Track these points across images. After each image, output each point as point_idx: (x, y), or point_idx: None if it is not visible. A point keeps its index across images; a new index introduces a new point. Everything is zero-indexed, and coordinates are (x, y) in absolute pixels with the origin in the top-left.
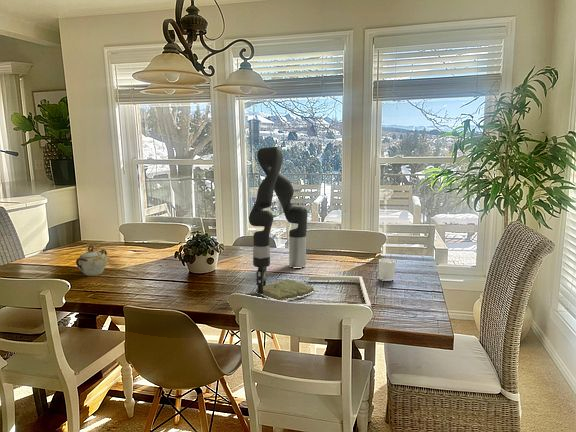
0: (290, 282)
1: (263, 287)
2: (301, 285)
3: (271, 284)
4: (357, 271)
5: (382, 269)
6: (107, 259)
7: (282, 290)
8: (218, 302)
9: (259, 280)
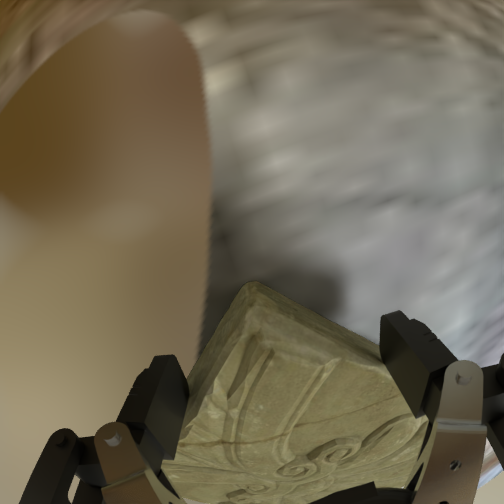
0: (413, 465)
1: (279, 397)
2: None
3: (402, 402)
4: (495, 456)
5: None
6: None
7: (250, 489)
8: (3, 75)
9: (161, 486)
